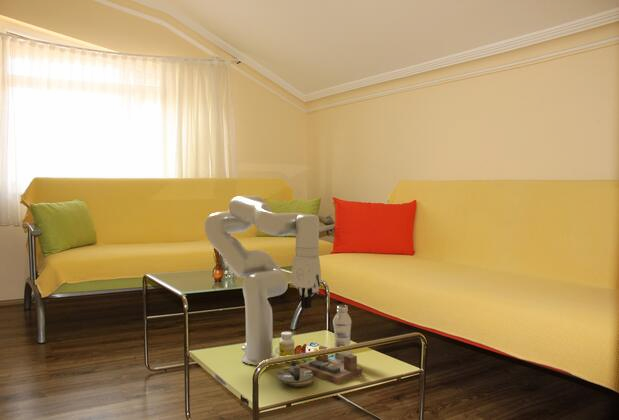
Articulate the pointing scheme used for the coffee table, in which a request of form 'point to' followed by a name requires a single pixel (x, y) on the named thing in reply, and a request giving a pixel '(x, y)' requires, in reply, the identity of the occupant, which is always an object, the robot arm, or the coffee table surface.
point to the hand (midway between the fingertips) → (306, 307)
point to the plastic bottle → (342, 331)
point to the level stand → (333, 368)
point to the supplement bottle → (286, 344)
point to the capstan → (296, 376)
